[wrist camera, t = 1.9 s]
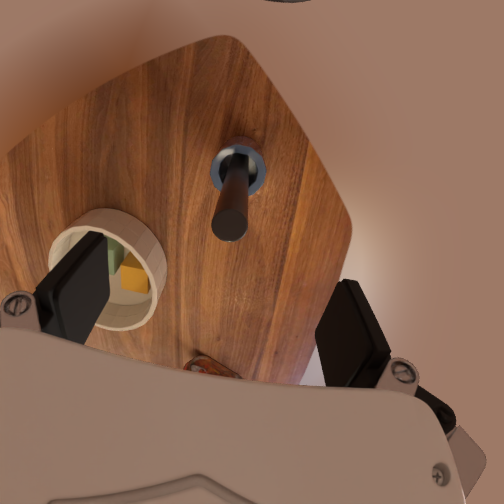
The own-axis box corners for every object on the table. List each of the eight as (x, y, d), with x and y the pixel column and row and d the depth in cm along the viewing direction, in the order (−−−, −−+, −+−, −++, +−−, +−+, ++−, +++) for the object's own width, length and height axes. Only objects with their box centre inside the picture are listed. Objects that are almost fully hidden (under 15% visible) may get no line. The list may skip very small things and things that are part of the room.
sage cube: (99, 231, 38) (87, 245, 34) (123, 236, 38) (113, 250, 35) (100, 255, 40) (89, 269, 36) (124, 260, 40) (114, 275, 37)
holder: (223, 132, 32) (215, 140, 25) (266, 140, 33) (271, 151, 26) (215, 172, 35) (206, 192, 28) (257, 181, 35) (258, 202, 28)
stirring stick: (233, 147, 33) (214, 206, 15) (250, 151, 33) (251, 213, 16) (230, 163, 34) (208, 239, 16) (246, 167, 34) (243, 245, 16)
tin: (252, 382, 55) (252, 417, 48) (241, 388, 56) (240, 422, 49) (194, 346, 49) (187, 384, 42) (183, 353, 51) (176, 390, 43)
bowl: (64, 200, 36) (41, 216, 30) (171, 219, 38) (159, 239, 32) (74, 293, 44) (59, 315, 39) (165, 315, 46) (156, 341, 41)
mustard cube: (130, 250, 39) (120, 265, 36) (156, 255, 40) (148, 270, 36) (130, 273, 41) (121, 288, 38) (155, 278, 42) (147, 294, 38)
